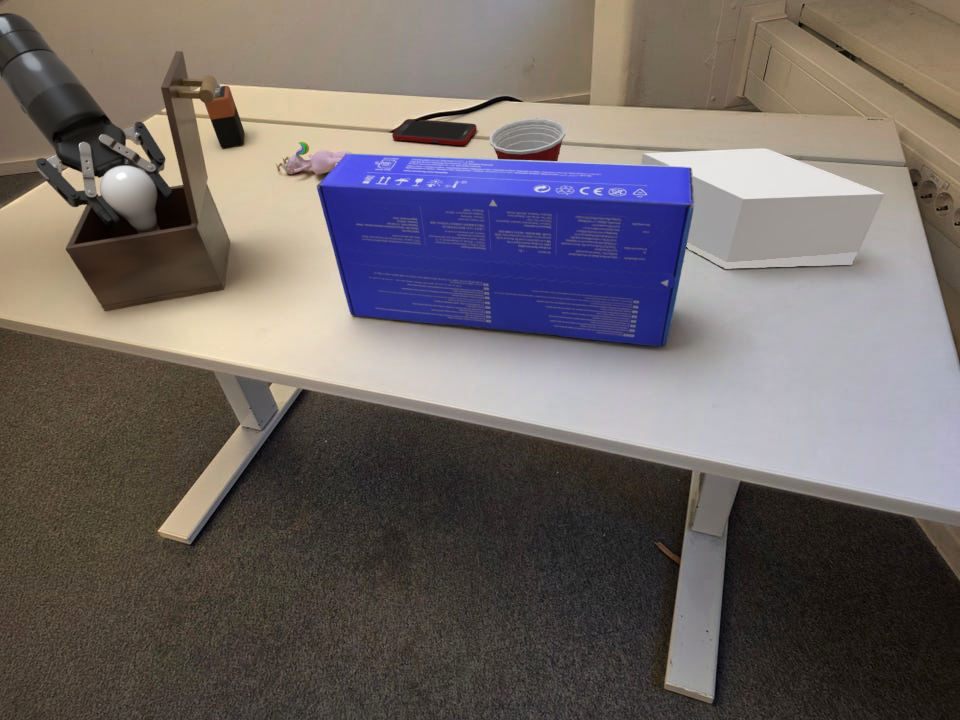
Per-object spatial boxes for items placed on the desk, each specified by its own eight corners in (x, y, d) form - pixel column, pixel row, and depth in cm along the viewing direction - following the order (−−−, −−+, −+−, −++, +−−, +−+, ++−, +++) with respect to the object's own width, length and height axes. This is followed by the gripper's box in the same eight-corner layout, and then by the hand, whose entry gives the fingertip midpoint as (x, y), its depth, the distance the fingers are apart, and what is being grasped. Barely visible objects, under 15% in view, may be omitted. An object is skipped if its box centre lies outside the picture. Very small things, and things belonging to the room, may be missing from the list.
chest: (104, 311, 81) (65, 249, 74) (122, 259, 90) (88, 199, 83) (224, 289, 83) (196, 226, 76) (230, 240, 91) (206, 180, 85)
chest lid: (160, 87, 64) (206, 88, 66) (175, 50, 73) (216, 52, 75) (191, 223, 75) (231, 223, 76) (201, 177, 84) (236, 178, 85)
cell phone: (407, 123, 119) (406, 118, 118) (478, 128, 115) (477, 123, 114) (391, 140, 113) (390, 135, 113) (465, 146, 110) (464, 141, 109)
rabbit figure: (277, 185, 106) (352, 178, 101) (262, 153, 102) (339, 144, 97) (294, 169, 110) (366, 161, 105) (280, 137, 106) (354, 128, 102)
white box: (648, 196, 94) (658, 131, 86) (857, 237, 83) (888, 166, 76) (617, 245, 85) (625, 177, 77) (846, 297, 74) (880, 224, 67)
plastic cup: (499, 188, 98) (496, 114, 90) (566, 191, 96) (569, 116, 88) (486, 224, 91) (481, 147, 82) (558, 228, 89) (561, 150, 80)
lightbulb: (143, 262, 79) (102, 186, 72) (123, 245, 83) (81, 171, 75) (188, 241, 83) (153, 165, 75) (166, 225, 86) (130, 151, 78)
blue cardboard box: (666, 305, 75) (694, 164, 62) (665, 351, 69) (696, 206, 56) (371, 278, 82) (342, 147, 70) (348, 317, 77) (312, 183, 64)
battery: (221, 149, 115) (201, 95, 108) (222, 135, 120) (203, 83, 113) (244, 145, 116) (226, 92, 109) (244, 131, 121) (227, 79, 114)
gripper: (-11, 103, 69) (88, 226, 71) (111, 65, 76) (196, 177, 79) (0, 137, 75) (91, 249, 78) (112, 98, 83) (191, 201, 85)
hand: (144, 212), depth 78 cm, fingers closed on lightbulb, 6 cm apart
